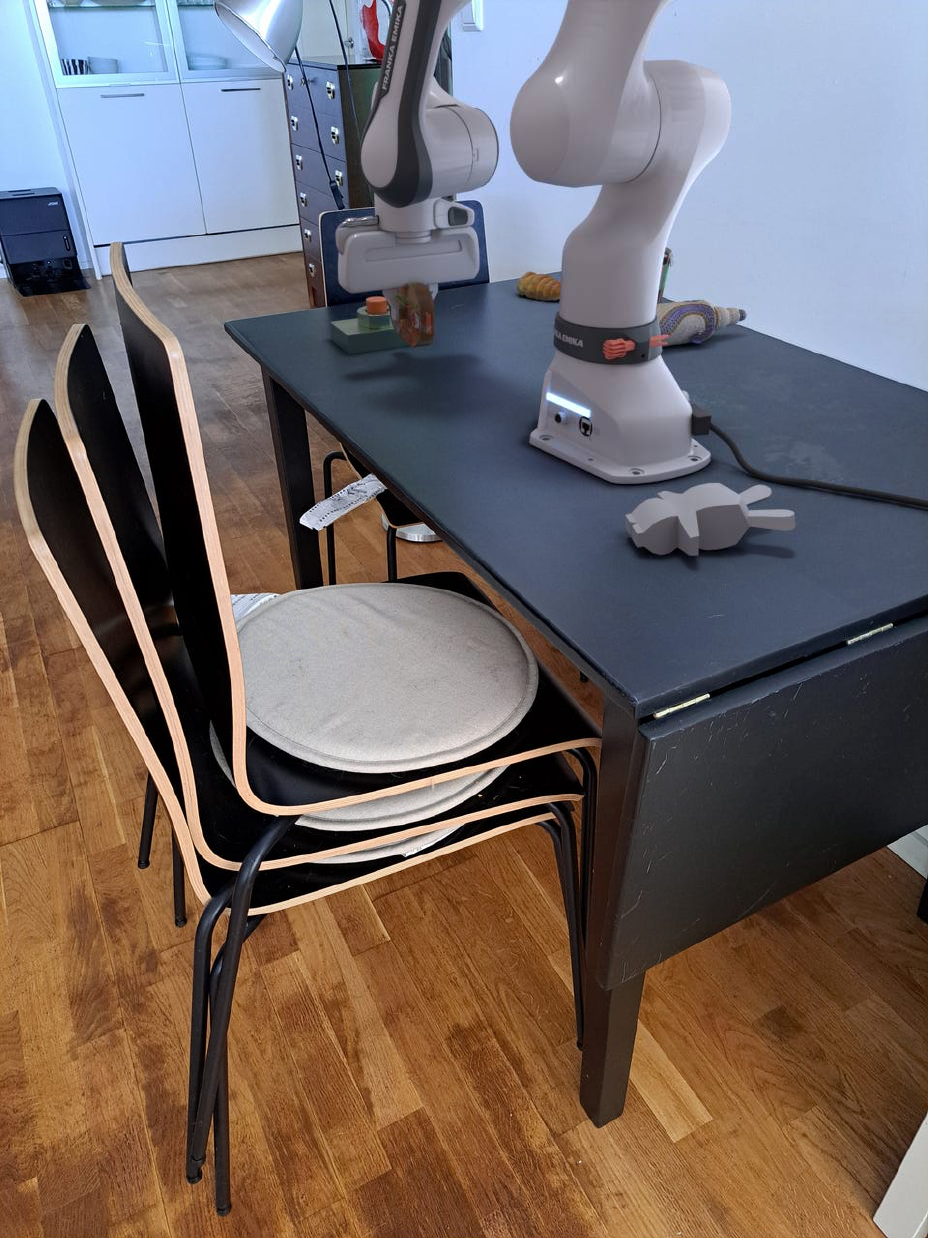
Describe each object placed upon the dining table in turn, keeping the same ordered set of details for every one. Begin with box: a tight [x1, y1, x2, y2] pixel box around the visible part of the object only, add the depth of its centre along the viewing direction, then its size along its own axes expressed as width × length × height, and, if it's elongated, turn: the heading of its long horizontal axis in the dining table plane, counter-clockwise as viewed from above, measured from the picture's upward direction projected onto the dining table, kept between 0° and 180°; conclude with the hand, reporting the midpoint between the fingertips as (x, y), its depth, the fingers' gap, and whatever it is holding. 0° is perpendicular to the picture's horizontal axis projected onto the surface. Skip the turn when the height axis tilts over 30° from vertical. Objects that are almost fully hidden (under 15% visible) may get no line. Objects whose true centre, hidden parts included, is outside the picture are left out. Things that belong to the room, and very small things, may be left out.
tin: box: [387, 283, 436, 348], centre depth 126 cm, size 15×3×8 cm, turn 20°
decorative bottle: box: [656, 299, 747, 348], centre depth 138 cm, size 26×8×7 cm, turn 113°
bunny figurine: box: [624, 482, 796, 557], centre depth 86 cm, size 10×5×15 cm
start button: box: [365, 296, 388, 313], centre depth 138 cm, size 3×3×2 cm
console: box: [330, 304, 411, 355], centre depth 140 cm, size 8×13×5 cm, turn 116°
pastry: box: [516, 271, 561, 302], centre depth 163 cm, size 9×7×4 cm
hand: (411, 317), depth 127 cm, fingers closed on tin, 2 cm apart
